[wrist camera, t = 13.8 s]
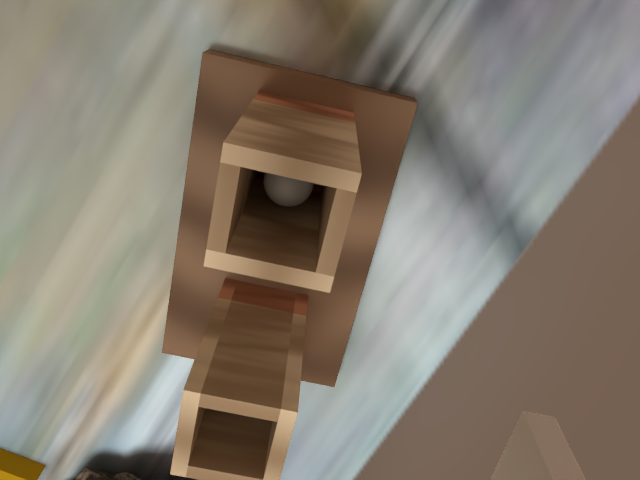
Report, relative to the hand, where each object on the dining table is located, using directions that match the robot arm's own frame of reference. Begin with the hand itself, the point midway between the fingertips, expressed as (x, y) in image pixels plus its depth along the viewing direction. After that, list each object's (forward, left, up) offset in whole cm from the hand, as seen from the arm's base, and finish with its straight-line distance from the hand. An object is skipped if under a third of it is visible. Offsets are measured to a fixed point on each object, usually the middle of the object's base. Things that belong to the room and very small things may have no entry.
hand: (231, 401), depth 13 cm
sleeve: (0, 0, -22) cm, 22 cm away
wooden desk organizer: (+6, 0, -24) cm, 24 cm away
